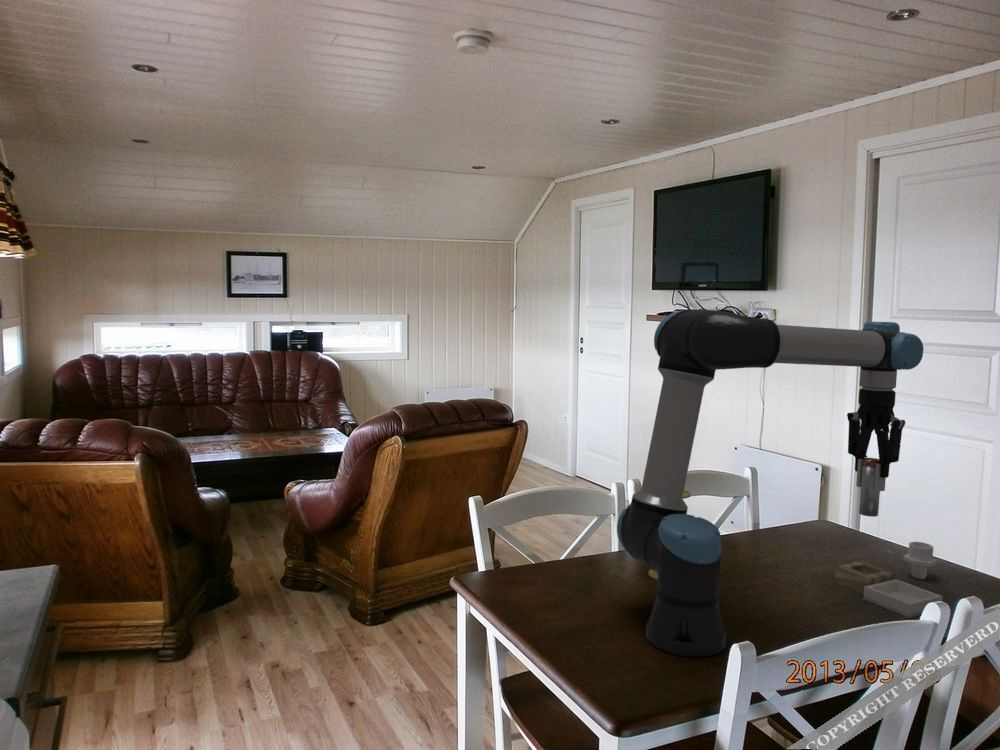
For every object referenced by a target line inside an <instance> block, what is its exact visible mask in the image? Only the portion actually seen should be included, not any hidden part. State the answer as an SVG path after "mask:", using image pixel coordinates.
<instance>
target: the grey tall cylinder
mask: <svg viewBox="0 0 1000 750" xmlns="http://www.w3.org/2000/svg"><path fill="white" fill-rule="evenodd" d="M878 461H879V458H875V457H866V458H863V464H862V478H861V487H860V492H859V493H860V494H859V495H860V496H859V510H858V514H859V515H861V516H865V517H872V518H873V517H878V516H879V507H880V496H881V491H879V492H876V491H874V485H875V471H876V463H878Z"/></svg>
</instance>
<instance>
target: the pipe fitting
mask: <svg viewBox="0 0 1000 750" xmlns="http://www.w3.org/2000/svg"><path fill="white" fill-rule="evenodd" d="M907 552H908V553H907V554H904V555H903V557H902V558H903V560H904V561H905V562H908V563H910V564H911V577H912V576H913V578H914V577H915V578H914V579H918V578H919V579H918V580H926V579H927V576H928V575H927V574H928V567H933V566H935V565H937V563H938V559H936V558H934V557H933V556H934V546H933V545H931V544H930V543H926V542H922V541H911V542H909V543H908V551H907ZM925 578H926V579H925Z"/></svg>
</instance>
